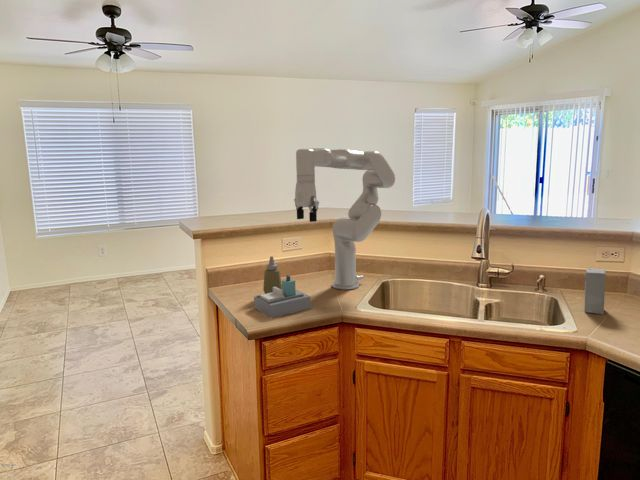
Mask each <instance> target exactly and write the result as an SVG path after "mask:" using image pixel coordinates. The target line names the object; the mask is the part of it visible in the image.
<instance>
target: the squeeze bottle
mask: <svg viewBox="0 0 640 480" xmlns="http://www.w3.org/2000/svg"><path fill="white" fill-rule="evenodd" d="M265 267H266V269H264V272H263V273H264V275H263V294H267V293H271V292H273V287H277V288H279V289H282V278H281V272H280V271H281V270H280V269H278V264H277V263H275V259H274V256H270V257H269V261H268V263H267V264H266V266H265Z"/></svg>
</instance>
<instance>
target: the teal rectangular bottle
mask: <svg viewBox="0 0 640 480" xmlns="http://www.w3.org/2000/svg"><path fill="white" fill-rule="evenodd" d="M281 284H282V290H283V296H285V297H289V296H294V295H296V291H295V290H296V280H294V279H292V278H291V275H290V274H289V275H286V276H285V279H281Z"/></svg>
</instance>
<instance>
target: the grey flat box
mask: <svg viewBox="0 0 640 480" xmlns="http://www.w3.org/2000/svg"><path fill="white" fill-rule="evenodd" d="M295 291H296V295H294V296H289V297H285V298H280V299H276V300H271V301H266V300H264V299H262V298H260V295H263V294H264V293H262V294H259V295H254V296H253V304H254V306H253V307H254V309H255V310H257V311H259V312H260V313H262V314H264V315H266V316H267V317H269V318H270V317H271V319H273V318H277V316H278V317H281V315H282V316H285V314H286V315H289V313H290V314H293V313H294V314H295V313H298V312H301V311H305V310H309V309H312V306H311V305H312V299H311V297H312V296H311V295H308V294H306V293H303V292H302V291H300V290H297V289H295ZM271 293H272V292H271ZM267 294H268V293H267Z"/></svg>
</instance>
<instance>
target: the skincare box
mask: <svg viewBox="0 0 640 480" xmlns="http://www.w3.org/2000/svg"><path fill="white" fill-rule="evenodd" d="M606 271H607V269H601V268H600V269H598V268H597V269H596V268H587V269H586V270H585V279H584V280H585V281H584V313H589V314H597V315H604V313H605V291H606V276H607V275H606Z"/></svg>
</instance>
